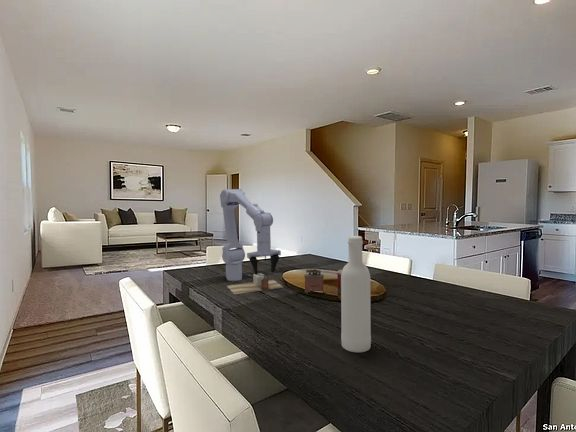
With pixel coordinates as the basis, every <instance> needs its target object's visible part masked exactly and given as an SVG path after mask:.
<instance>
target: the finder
mask: <svg viewBox="0 0 576 432" xmlns="http://www.w3.org/2000/svg"><path fill="white" fill-rule="evenodd" d="M264 275H265V274H263V273H257V275H255V274H254V273H253V274H252V278H253V281H252V282H253V283H254V284H255V285H256V286H261V280H263V278H264ZM265 278H267V276H266V275H265Z"/></svg>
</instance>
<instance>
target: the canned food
mask: <svg viewBox="0 0 576 432" xmlns="http://www.w3.org/2000/svg"><path fill="white" fill-rule="evenodd" d="M342 270H343V268H342V269H339V270H337V273H336V274H337V275H336V276H337V279H336V280H337V298H338V300H339V301H341V274H342Z"/></svg>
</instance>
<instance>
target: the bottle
mask: <svg viewBox="0 0 576 432" xmlns="http://www.w3.org/2000/svg"><path fill="white" fill-rule="evenodd" d="M347 243H348V262H346V264H345V265H344V266H343V268H342V269H343V270H342V274H341V300H340V301H341V304H340V307H341V309H340V310H341V311H340V312H341V315H340V316H341V323H340V324H341V329H340V330H341V335H340V339H341V340H340V342H341V346H342V348H343V349H344V350H346V351H348V352H351V353H365V352H367V351H369V350H370V349H371V344H372V335H371V334H372V333H371V328H372V327H371V323H372V321H371V318H372V317H371V274H370V270H369V268H368V266H367V265H365V264H364V263H363V243H364V241H363V237H362V236H361V235H350V236H348V241H347Z"/></svg>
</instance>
